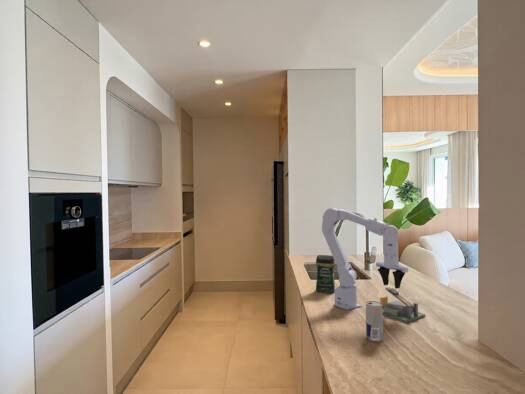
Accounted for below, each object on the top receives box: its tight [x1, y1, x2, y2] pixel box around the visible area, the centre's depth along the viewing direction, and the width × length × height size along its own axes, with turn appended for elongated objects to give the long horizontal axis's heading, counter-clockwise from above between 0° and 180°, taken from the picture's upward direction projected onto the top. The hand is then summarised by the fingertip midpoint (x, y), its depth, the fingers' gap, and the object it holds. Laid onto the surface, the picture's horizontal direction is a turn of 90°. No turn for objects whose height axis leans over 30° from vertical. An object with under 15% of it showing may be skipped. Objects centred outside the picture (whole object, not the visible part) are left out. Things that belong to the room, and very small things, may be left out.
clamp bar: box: [385, 287, 415, 309], centre depth 130 cm, size 13×3×1 cm, turn 30°
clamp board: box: [379, 295, 426, 324], centre depth 131 cm, size 12×16×6 cm
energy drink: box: [365, 300, 384, 343], centre depth 108 cm, size 5×5×12 cm
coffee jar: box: [315, 254, 336, 294], centre depth 163 cm, size 10×8×19 cm
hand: (391, 286), depth 133 cm, fingers open, 5 cm apart
